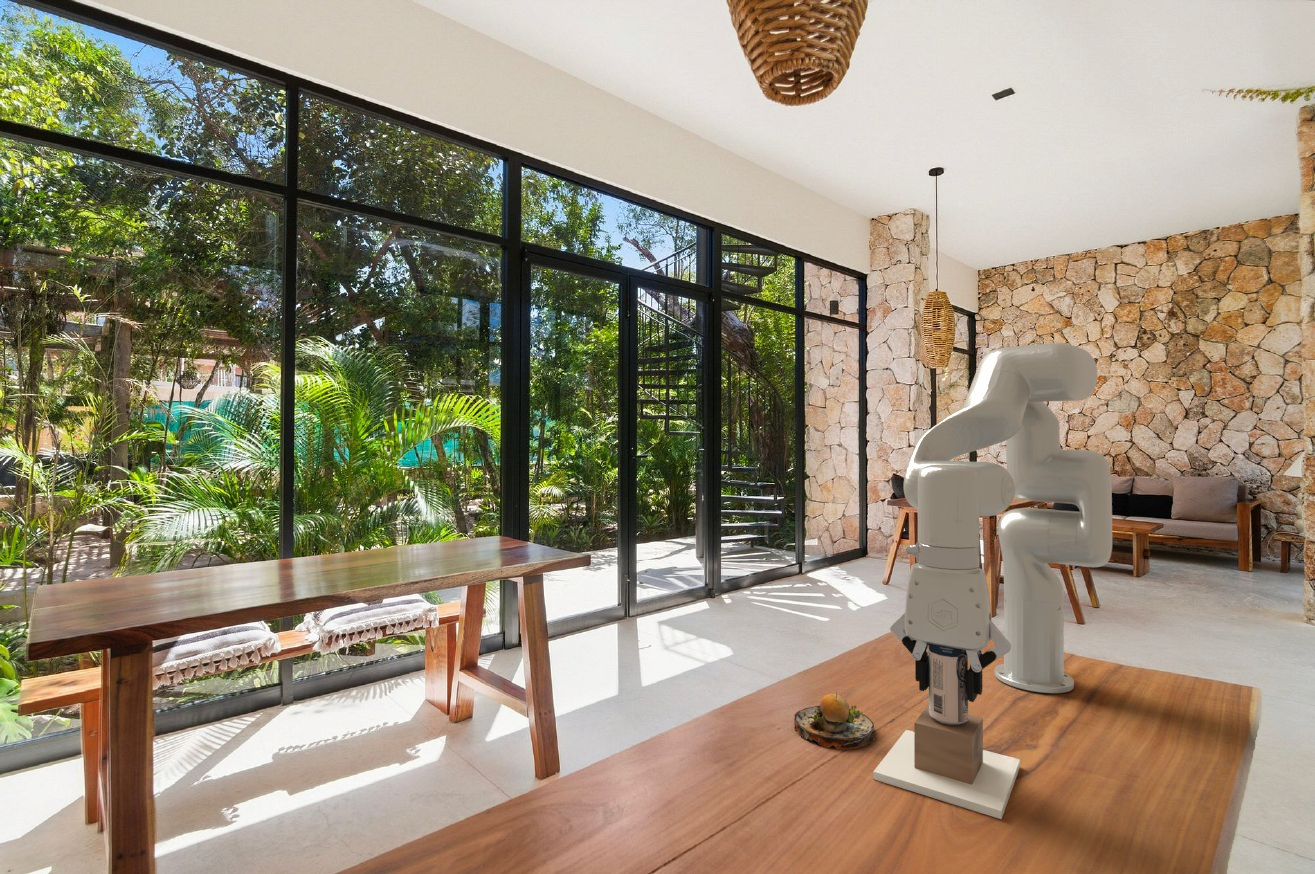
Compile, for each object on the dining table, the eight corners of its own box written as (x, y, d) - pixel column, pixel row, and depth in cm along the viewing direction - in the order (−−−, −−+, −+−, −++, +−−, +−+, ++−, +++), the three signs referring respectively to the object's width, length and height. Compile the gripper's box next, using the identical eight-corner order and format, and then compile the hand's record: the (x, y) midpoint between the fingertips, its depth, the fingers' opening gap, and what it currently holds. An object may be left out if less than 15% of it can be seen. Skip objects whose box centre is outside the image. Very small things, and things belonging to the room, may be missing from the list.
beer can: (972, 728, 84) (971, 635, 84) (933, 725, 85) (932, 633, 85) (962, 714, 88) (962, 625, 89) (925, 711, 89) (925, 623, 89)
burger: (879, 724, 102) (879, 676, 102) (869, 757, 91) (869, 704, 91) (802, 710, 107) (802, 665, 107) (785, 740, 96) (785, 690, 96)
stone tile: (906, 736, 97) (906, 729, 97) (1019, 766, 88) (1020, 759, 88) (873, 779, 85) (873, 771, 85) (1001, 819, 76) (1001, 810, 76)
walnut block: (928, 747, 91) (928, 704, 91) (982, 762, 87) (982, 717, 87) (914, 767, 86) (914, 722, 86) (972, 784, 81) (972, 737, 81)
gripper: (874, 554, 88) (874, 687, 88) (1016, 569, 78) (1016, 719, 78) (891, 546, 94) (891, 670, 94) (1025, 560, 84) (1025, 699, 84)
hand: (948, 691), depth 86 cm, fingers open, 5 cm apart
